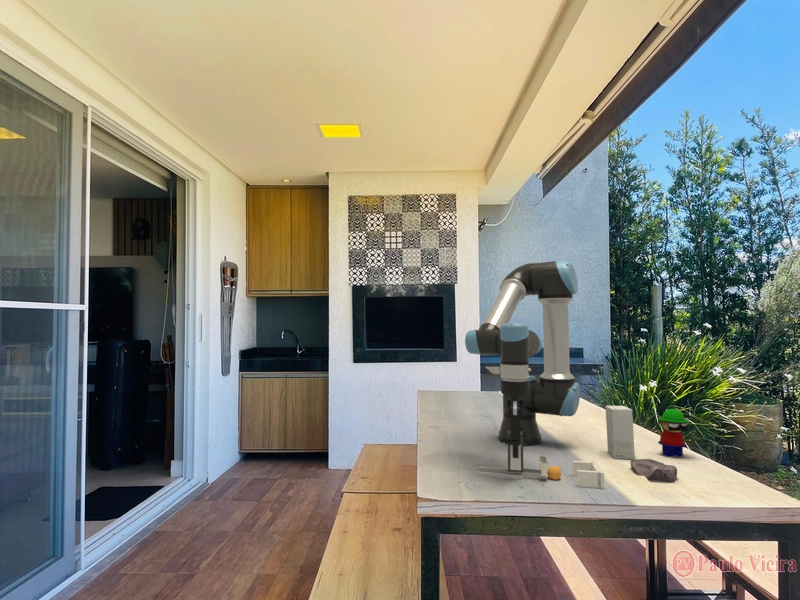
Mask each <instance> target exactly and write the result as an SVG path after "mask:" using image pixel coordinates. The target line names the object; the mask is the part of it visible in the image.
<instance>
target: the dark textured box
mask: <svg viewBox="0 0 800 600" xmlns="http://www.w3.org/2000/svg"><path fill="white" fill-rule="evenodd" d="M510 440H511V430H508V442H509V443H510ZM520 441H521V444H520V445H521V470H510V445H508V444H507V469H508V473H507V474H518V475H523V479H533V480H534V479H535V480H548V477H549V476H548V473H547V471H548V460H547V458H546V456H541V455H540V456H539V469H532V468H531V469H530V468H524V445H523V431H520Z"/></svg>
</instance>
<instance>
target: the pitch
mask: <svg viewBox="0 0 800 600" xmlns="http://www.w3.org/2000/svg"><path fill="white" fill-rule="evenodd" d="M476 474H477V475H476V476H477V477H487V478H498V479H499V478H501V479H509V480H510V479H511V480H513V479H514V480H524V478H523V475H518V474H508V467H507V468H503V467H493V466H492V467H491V466H478V469H477V471H476Z"/></svg>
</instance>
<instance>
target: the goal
mask: <svg viewBox="0 0 800 600" xmlns="http://www.w3.org/2000/svg"><path fill="white" fill-rule="evenodd" d="M571 463H572V476H573V477H576V486H577V487H579V488H581V487H583V488H593V489H594V488H595V489H605V472H604V470H603V469H602V468H601V466H600V465H599V463H598V462H597V461H584V460H583V461H582V460H572V462H571Z"/></svg>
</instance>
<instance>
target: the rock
mask: <svg viewBox="0 0 800 600" xmlns="http://www.w3.org/2000/svg"><path fill="white" fill-rule="evenodd" d="M629 464H630V466H631V467H630V468H631V469H632V470H633V471H635V473H636V474H637V475H638V476H640V477H645V478H646V479H647V481H652V482H653V481H654V482H674V481H675V480H677V478H678V477H677V476H678V468H677V467H676V465H671V464H665V463H664V462H661V461H658V460H656V459H655V460H654V459H651V458H642V459H641V458H639V459H636V458H635V459H630V460H629Z"/></svg>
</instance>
